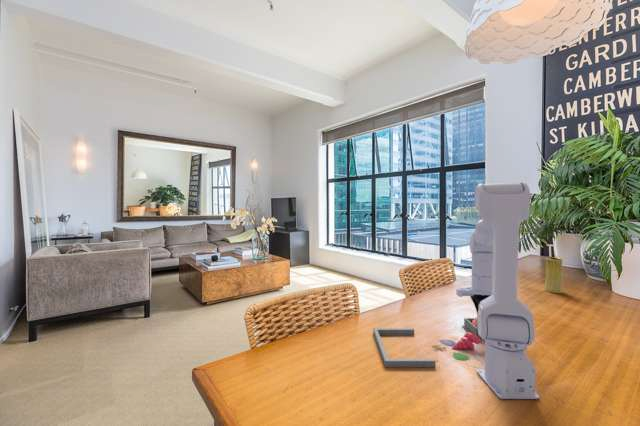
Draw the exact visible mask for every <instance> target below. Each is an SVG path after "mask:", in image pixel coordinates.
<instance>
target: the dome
mask: <svg viewBox="0 0 640 426" xmlns="http://www.w3.org/2000/svg"><path fill="white" fill-rule="evenodd" d="M474 318H475V319H474V320H472V323H473V324H474V325H475V326H476V327H477V316H476V317H474Z"/></svg>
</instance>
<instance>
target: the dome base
mask: <svg viewBox="0 0 640 426" xmlns="http://www.w3.org/2000/svg"><path fill="white" fill-rule="evenodd" d="M475 318H476V317H466V318H465V317H464V318H463V324H462V325H461V326H462V328H463V329H464V331H466V333H469V332H471V333H473V334H475V335H476V336H478V338H479V339H480V340H483V339H482V338H481V337H480V336H479V334H478V328H477V327H476V326H475V325H474V324H473V323H472V320H474V319H475Z"/></svg>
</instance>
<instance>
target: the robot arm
mask: <svg viewBox="0 0 640 426" xmlns="http://www.w3.org/2000/svg"><path fill="white" fill-rule="evenodd" d="M474 204H475V205H474V206H475V208H476V210H477V212H478V215H479V217H480V218H481V219H480V220H479V221H477V222H476V224H475V229H474V232H472V233H471V234H470V236H469V237H470V238H469V250H470V251H469V252H470V254H471V286H467V287H462V288H460V287H459V288H456V289H455V290H456V293H455V294H456V296H458V297H459V298H461V297H470V299H471V301H472V302H473V305H474V308H475V311H476V317H477V328H478V334H479V336H480V337H481V338H482V339H481V340H484V369H476V373H477V375H479V376H480V378H481V379H482V380H483V381H484V382H485V384H486V385H487V386H488V387H489V389H491V390H492V392H494V393H495V395H496V396H497V397H498V398H499V399H501V400H539V399H540V395H539V394H537V392H536V367H535V364H534V363H533V362H532V360H531V359H530V358H529V357H528V355H527V353H526V350H528V346H531V345H532V344H533V343H534V342H535V340H536V339H535V337H536V330H535V323H534V314H533V312H532V310H531V309H530V308H529V307H528V306H527V305H526V304H525V303H523V302H522V301H520V300H519V299H518V277H519V275H518V274H519V270H518V269H519V239H520V238H519V236H520V234H519V233H520V227H521V223H522V222H524V221H527V220H529V219H530V213H531V191H530V188H529V186H528V184H527V183H526V182H525V181H521V182H504V183H478V184H477V185H476V187H475V191H474Z"/></svg>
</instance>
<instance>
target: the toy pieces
mask: <svg viewBox="0 0 640 426" xmlns="http://www.w3.org/2000/svg"><path fill="white" fill-rule="evenodd" d="M438 342H439V343H440V344H442V345H444V346H443V347H441V345H440V344H433V345H431V348H432V349H433V351H434V352H440V353H442V352H448V350H447V349H448V348H447V347H449V348H450V347H451V350H473V349H474V348H475V344H476V345H480V344H481V343H482V339H479V338H478V336H476V335H475V334H473V333H471V332H469V333H468V332H466V333H465V334H464V335H463V336H462V337H461V338H460V340H458V341H457V342H456V341H454V340H451V339H440V340H438ZM446 346H447V347H446ZM452 358H453V359H454V360H457V361H461V362H466V361H468V360H470V356H469V355H467V354H464V353H462V352H455V351H453V353H452Z"/></svg>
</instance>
